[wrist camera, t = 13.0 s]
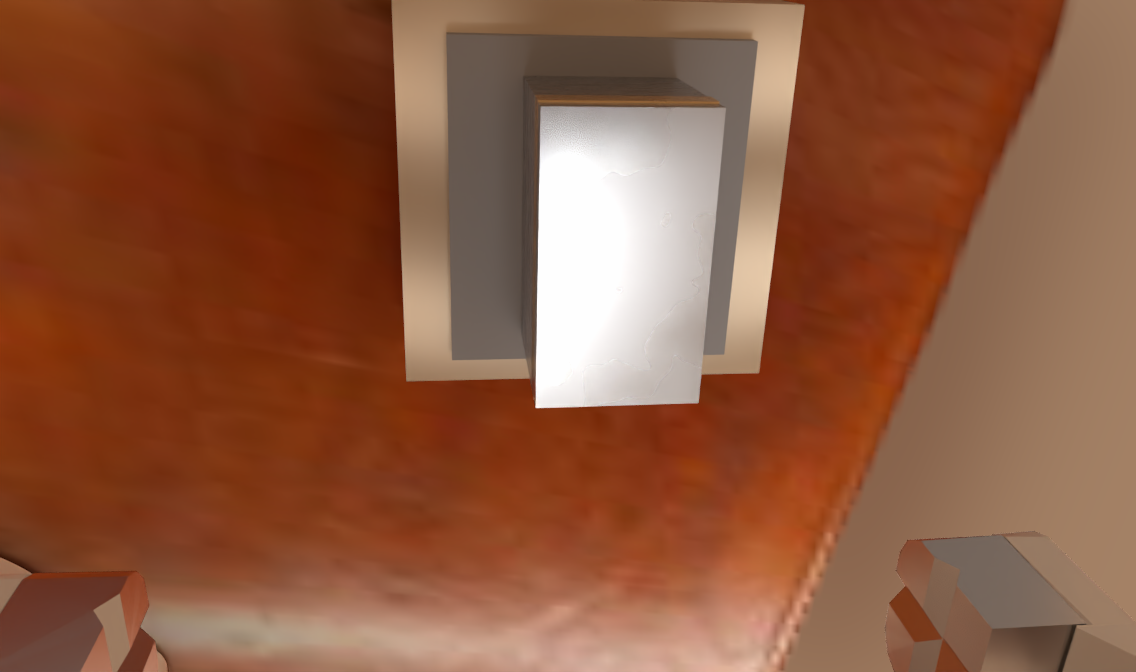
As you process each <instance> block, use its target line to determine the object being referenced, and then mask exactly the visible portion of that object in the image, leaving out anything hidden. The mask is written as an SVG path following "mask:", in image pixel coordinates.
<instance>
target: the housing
mask: <svg viewBox="0 0 1136 672" xmlns="http://www.w3.org/2000/svg"><path fill="white" fill-rule="evenodd" d="M725 113H726V108H725V107H724V106H722V105H721V104H719V101H718V100H716V99H714V98H713V97H709V96H706V95H704V94H703V93H701V92H699V91H698V90H696V89H695V88H693V87H691V86H690V85H688V84H686V83H685V82H683V81H682V80H680V79H678V78H668V77H586V76H523V165H522V275H521V336H522V341H523V346H524V351H525V356H526V361H527V366H528V372H529V377H530V382H531V389H532V394H533V399H534V402H535V408H555V407H587V406H618V405H650V404H681V403H699V393H700V382H701V371H702V360H703V350H704V339H705V328H706V317H707V307H708V296H709V285H710V275H711V264H712V253H713V242H714V232H715V221H716V210H717V199H718V189H719V178H720V167H721V156H722V146H723V135H724V124H725Z"/></svg>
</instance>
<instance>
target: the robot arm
mask: <svg viewBox="0 0 1136 672" xmlns="http://www.w3.org/2000/svg"><path fill="white" fill-rule="evenodd" d="M896 572H897V573H898V575H899V577H900V578H901V580H902V582H903V583H904V585H905V587H904V588H903V589H902V590H901V591H900V592H899V594H897V595H896V597H895V598H894V599H893V600H892V601H891V602H890V603H889V605H888V611H887V617H886V624H885V635H886V644H887V652H888V656H889V658H890V662H891V664H892V667H893V670H894V672H1136V622H1135V621H1134V620H1133V619H1132V618H1131V617H1130V616H1129V615H1128V614H1127V613H1126V612H1125V611H1124V610H1123V609H1122V608H1120V606H1119V605H1118V604H1117V603H1115V602H1114V600H1113V599H1111V598H1110V597H1109V596H1108V595H1107V594H1106V593H1105V592H1104V591H1103V590H1102V589H1101V588H1100V587H1099V586H1098V585H1097V584H1096V583H1095V582H1094V581H1093V580H1092V579H1091V578H1090V577H1089V576H1088V575H1087V574H1086V573H1085V572H1084V571H1083V570H1082V569H1081V568H1080V567H1079V566H1077V565H1076V564H1075V563H1074V562H1073V561H1072V560H1071V559H1070V558H1069V557H1068V556H1067V555H1066V554H1065V553H1064V552H1063V551H1062V550H1061V549H1060V548H1059V547H1058V546H1057V545H1056V544H1055V543H1054V542H1053V541H1052V540H1051V539H1050V538H1049V537H1047V536H1045V535H1042V534H1040V533H1038V532H1035V531H1030V532H1016V533H1003V534H992V535H991V536H976V537H975V536H974V537H956V538H935V539H917V540H916V539H915V540H907V542H906V543H905V545H904V546H903V548H902V549H901V551H900V554H899V559H898V564H897V567H896ZM148 607H149V601H148V596H147V591H146V586H145V581H144V578H143V577H142V576H141V575H140V574H139V573H138V572H137V571H112V572H65V573H34V574H32V573H30V572H29V571H27V570H25V569H23V568H21V567H19V566H18V565H16V564H14V563H12V562H10V561H7V560H5V559H3V558H0V672H168V669H167V663H166V661H165V659H164V657H163V656H162V655H161V654H160V653H159V652H158V651H157V650H156V643H155V640H154V639H153V638H151V637H150V636H149V635H148V634H147V633H146V632H145V631H144V630H143V629H141V628H140V626H141V623H142V621H143V619H144V616H145V614H146V612H147V609H148Z"/></svg>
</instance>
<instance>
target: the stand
mask: <svg viewBox="0 0 1136 672" xmlns="http://www.w3.org/2000/svg"><path fill="white" fill-rule="evenodd" d="M804 8H805V5H803V4H798V3H792V2H787V1H782V0H392V24H393V50H394V76H395V102H396V128H397V153H398V179H399V205H400V231H401V257H402V282H403V308H404V334H405V360H406V381H441V380H483V379H526V378H530V377H529V372H528V366H527V361H526V356H525V351H524V346H523V341H522V336H521V275H522V165H523V76H586V77H668V78H678V79H680V80H682V81H683V82H685V83H686V84H688V85H690V86H691V87H693V88H695V89H696V90H698V91H699V92H701V93H703V94H704V95H706V96H709V97H713V98H714V99H716V100H718V101H719V104H721V105H722V106H724V107H725V108H726V113H725V124H724V135H723V146H722V156H721V167H720V178H719V189H718V199H717V210H716V221H715V232H714V242H713V253H712V264H711V275H710V285H709V296H708V307H707V317H706V328H705V339H704V350H703V360H702V371H701V374H740V373H759V368H760V360H761V352H762V344H763V336H764V328H765V320H766V312H767V304H768V296H769V288H770V280H771V272H772V264H773V256H774V248H775V240H776V232H777V224H778V216H779V208H780V200H781V192H782V184H783V176H784V168H785V160H786V152H787V144H788V136H789V128H790V120H791V112H792V104H793V96H794V88H795V80H796V72H797V64H798V56H799V48H800V40H801V32H802V24H803V16H804Z"/></svg>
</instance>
